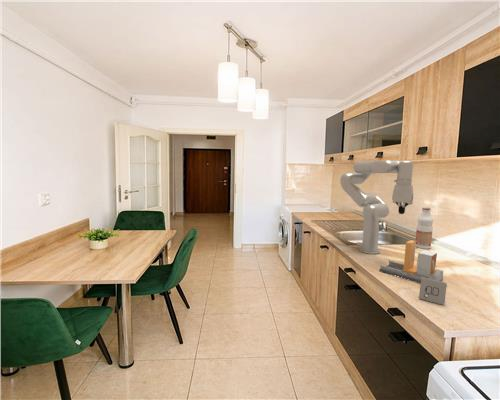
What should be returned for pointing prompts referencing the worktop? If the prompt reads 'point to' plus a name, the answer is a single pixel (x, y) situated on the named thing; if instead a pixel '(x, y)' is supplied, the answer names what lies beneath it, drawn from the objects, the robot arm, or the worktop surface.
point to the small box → (426, 263)
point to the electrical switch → (433, 290)
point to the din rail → (397, 270)
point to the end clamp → (410, 257)
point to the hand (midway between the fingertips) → (401, 213)
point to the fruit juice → (424, 229)
